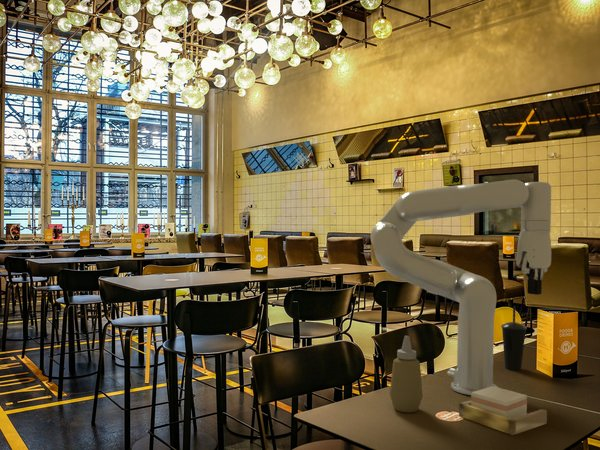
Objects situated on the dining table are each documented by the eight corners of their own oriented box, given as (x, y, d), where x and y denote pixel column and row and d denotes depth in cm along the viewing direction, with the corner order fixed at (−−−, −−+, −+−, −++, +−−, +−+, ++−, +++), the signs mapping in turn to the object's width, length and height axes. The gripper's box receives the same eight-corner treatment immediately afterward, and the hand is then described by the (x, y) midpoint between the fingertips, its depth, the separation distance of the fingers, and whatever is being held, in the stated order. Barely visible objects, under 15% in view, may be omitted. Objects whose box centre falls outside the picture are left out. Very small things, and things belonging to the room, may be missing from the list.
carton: (470, 417, 132) (471, 392, 132) (491, 410, 137) (492, 386, 137) (506, 429, 125) (506, 402, 125) (526, 420, 130) (527, 395, 130)
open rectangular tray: (458, 415, 132) (459, 403, 132) (492, 406, 140) (493, 394, 140) (512, 435, 120) (512, 421, 120) (546, 423, 128) (546, 410, 128)
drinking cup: (529, 372, 173) (531, 308, 173) (505, 371, 173) (506, 307, 173) (520, 365, 181) (521, 304, 181) (497, 365, 181) (498, 304, 181)
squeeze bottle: (382, 405, 138) (384, 334, 138) (410, 402, 142) (411, 332, 142) (401, 416, 131) (402, 340, 131) (429, 412, 134) (430, 338, 134)
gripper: (538, 227, 159) (537, 290, 159) (507, 226, 151) (505, 294, 151) (563, 227, 153) (562, 293, 153) (532, 227, 145) (531, 297, 145)
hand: (534, 293), depth 152 cm, fingers closed
